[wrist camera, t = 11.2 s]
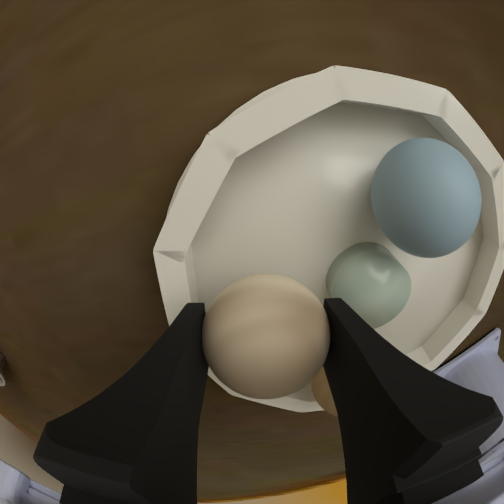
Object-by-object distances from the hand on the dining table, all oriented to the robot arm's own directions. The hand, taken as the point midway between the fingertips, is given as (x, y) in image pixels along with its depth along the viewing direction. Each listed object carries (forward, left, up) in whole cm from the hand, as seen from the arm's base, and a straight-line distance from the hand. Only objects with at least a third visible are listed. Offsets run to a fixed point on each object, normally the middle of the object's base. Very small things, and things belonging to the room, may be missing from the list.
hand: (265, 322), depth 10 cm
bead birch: (0, 0, -1) cm, 1 cm away
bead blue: (+1, -7, -3) cm, 8 cm away
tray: (-2, -4, -4) cm, 6 cm away
